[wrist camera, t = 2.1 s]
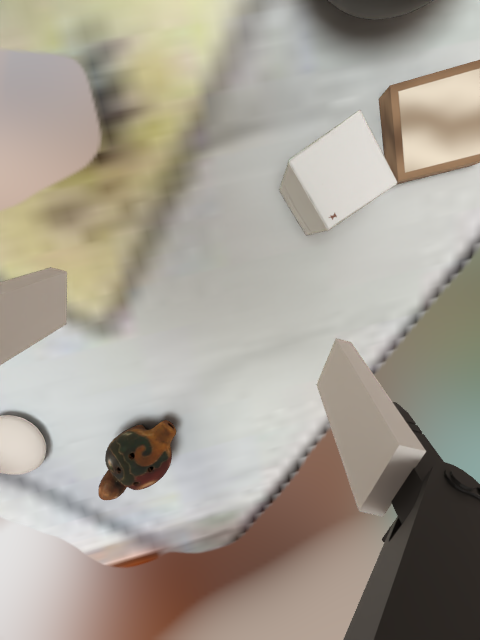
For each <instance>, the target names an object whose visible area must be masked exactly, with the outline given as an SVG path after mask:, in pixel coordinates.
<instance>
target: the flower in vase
mask: <svg viewBox="0 0 480 640" xmlns="http://www.w3.org/2000/svg"><path fill="white" fill-rule="evenodd" d="M45 455H46V443H45V439H44V437H43V435H42V434H41V432H40V431H39V429H38V428H37V427H36V426H35V425H33V424H32V423H31V422H29V421H28V420H26V419H24V418H21V417H18V416H13V415H3V416H0V473H4V474H24V473H28V472H30V471H32V470H34V469H36V468H38V467H39V466H40V465H41V464H42V462H43V461H44V459H45Z"/></svg>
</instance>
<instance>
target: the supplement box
mask: <svg viewBox="0 0 480 640" xmlns="http://www.w3.org/2000/svg"><path fill="white" fill-rule="evenodd" d="M396 184H397V180H396V178H395V177H394V175H393V173H392V171H391V169H390V167H389V165H388V163H387V161H386V159H385V157H384V155H383V153H382V151H381V149H380V147H379V145H378V143H377V141H376V139H375V137H374V136H373V134H372V132H371V130H370V128H369V126H368V124H367V122H366V120H365V118H364V116H363V114H362V112H361V110H359V111H357V112H356V113H355V114H353V115H352V116H351V117H349V118H348V119H346V120H345V121H344V122H342V123H341V124H339V125H338V126H336V127H335V128H334V129H332V130H331V131H329V132H328V133H326V134H325V135H324V136H322V137H321V138H319V139H318V140H316V141H315V142H313V143H312V144H311V145H309V146H308V147H306V148H305V149H303V150H302V151H301V152H299V153H298V154H296V155H295V156H293V157H292V158H290V159H289V161H288V165H287V168H286V171H285V174H284V177H283V180H282V183H281V186H280V189H279V190H280V192H281V194H282V196H283V197H284V199H285V201H286V203H287V204H288V206H289V208H290V209H291V211H292V213H293V214H294V216H295V218H296V219H297V221H298V223H299V224H300V226H301V228H302V229H303V231H304V233H305V234H306V235H310V234H314V233H319V232H323V231H328V230H330V229H331V228H333V227H334V226H336V225H337V224H339V223H340V222H342V221H343V220H345V219H346V218H348V217H349V216H351V215H352V214H354V213H355V212H357V211H358V210H360V209H361V208H362V207H364V206H365V205H367V204H368V203H370V202H371V201H373V200H374V199H375V198H377V197H378V196H380V195H381V194H383V193H384V192H386V191H387V190H388V189H390V188H391V187H393V186H394V185H396Z"/></svg>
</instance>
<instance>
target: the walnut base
mask: <svg viewBox="0 0 480 640" xmlns="http://www.w3.org/2000/svg"><path fill="white" fill-rule="evenodd" d="M379 106H380V116H381V126H382V137H383V147H384V157H385V159H386V161H387V163H388V165H389V167H390V169H391V171H392V173H393V175H394V177H395V178H396V180H397V184H400V183H404V182H408V181H412V180H416V179H420V178H424V177H428V176H432V175H436V174H440V173H445V172H449V171H453V170H457V169H461V168H465V167H469V166H472V165H475V164H477V163H480V60H478V61H474V62H471V63H467V64H464V65H460V66H457V67H453V68H450V69H446V70H443V71H439V72H436V73H432V74H429V75H425V76H422V77H418V78H415V79H411V80H408V81H404V82H401V83H397V84H394V85H390V86H389V87H388V89H387V90H386V91H385V92H384V93H383V95H382V96H381V97H380V98H379Z"/></svg>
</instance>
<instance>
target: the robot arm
mask: <svg viewBox="0 0 480 640" xmlns="http://www.w3.org/2000/svg"><path fill="white" fill-rule="evenodd" d="M66 317H67V271H63V270H59V269H55V268H51V267H50V268H47V269H44V270H40V271H37V272H34V273H30V274H27V275H23V276H20V277H17V278H13V279H10V280H7V281H3V282H0V365H1V364H3V363H4V362H6V361H8V360H9V359H11V358H13V357H14V356H16V355H17V354H19V353H21V352H22V351H24V350H25V349H27V348H29V347H30V346H32V345H33V344H35V343H37V342H38V341H40V340H42V339H43V338H45V337H46V336H48V335H50V334H51V333H53V332H54V331H56V330H58V329H59V328H61V327H63V326H64V325H66ZM317 387H318V390H319V393H320V396H321V399H322V402H323V405H324V408H325V411H326V414H327V417H328V420H329V423H330V426H331V429H332V432H333V435H334V438H335V441H336V444H337V447H338V450H339V453H340V456H341V459H342V462H343V465H344V468H345V471H346V474H347V477H348V480H349V483H350V486H351V489H352V492H353V495H354V498H355V501H356V504H357V507H358V509H359V511H360V512H364V513H369V514H373V515H378V516H383V515H384V514H385V513H386V511H387V510H388V508H389V507H390V505H391V504H393V507H394V509H395V511H396V513H397V515H398V517H397V518H396V520H395V521H394V523H393V524H392V526H391V527H390V528H389V530H388V531H387V533H386V534H385V535H384V537H383V538H382V541H383V542H385V543H384V545H383V548H382V550H381V552H380V555H379V557H378V559H377V562H376V564H375V566H374V569H373V571H372V574H371V576H370V578H369V581H368V583H367V585H366V588H365V590H364V592H363V595H362V597H361V600H360V602H359V604H358V607H357V609H356V611H355V614H354V616H353V618H352V621H351V623H350V626H349V628H348V630H347V632H346V635H345V638H344V640H480V484H479V483H478V482H477V481H476V480H474V478H473V477H471V476H470V475H468V474H467V473H466V472H464V471H463V470H461V469H459V468H458V467H456V466H454V465H451V464H448V463H445V462H443V460H442V459H441V457H440V456H439V455H438V453H437V452H436V451H435V449H434V448H433V447H432V445H431V444H430V442H429V441H428V440H427V438H426V437H425V435H424V434H422V431H421V430H420V429H419V427H418V426H417V425H415V422H414V421H413V419H412V418H411V416H410V415H409V414H408V412H406V411H405V410H404V409H403V408H402V407H401V406H400V405H398V404H397V403H395V402H392V401H391V400H390V398H389V397H388V395H387V394H386V393H385V391H384V389H383V388H382V386H381V385H380V384H379V382H378V381H377V379H376V378H375V376H374V375H373V373H372V372H371V370H370V369H369V368H368V366H367V365H366V363H365V362H364V360H363V359H362V357H361V356H360V355H359V353H358V352H357V350H356V349H355V347H354V346H353V344H352V343H351V342H348V341H344V340H340V339H335V342H334V344H333V347H332V349H331V351H330V354H329V356H328V359H327V361H326V363H325V366H324V368H323V371H322V373H321V375H320V378H319V380H318V383H317Z"/></svg>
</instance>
